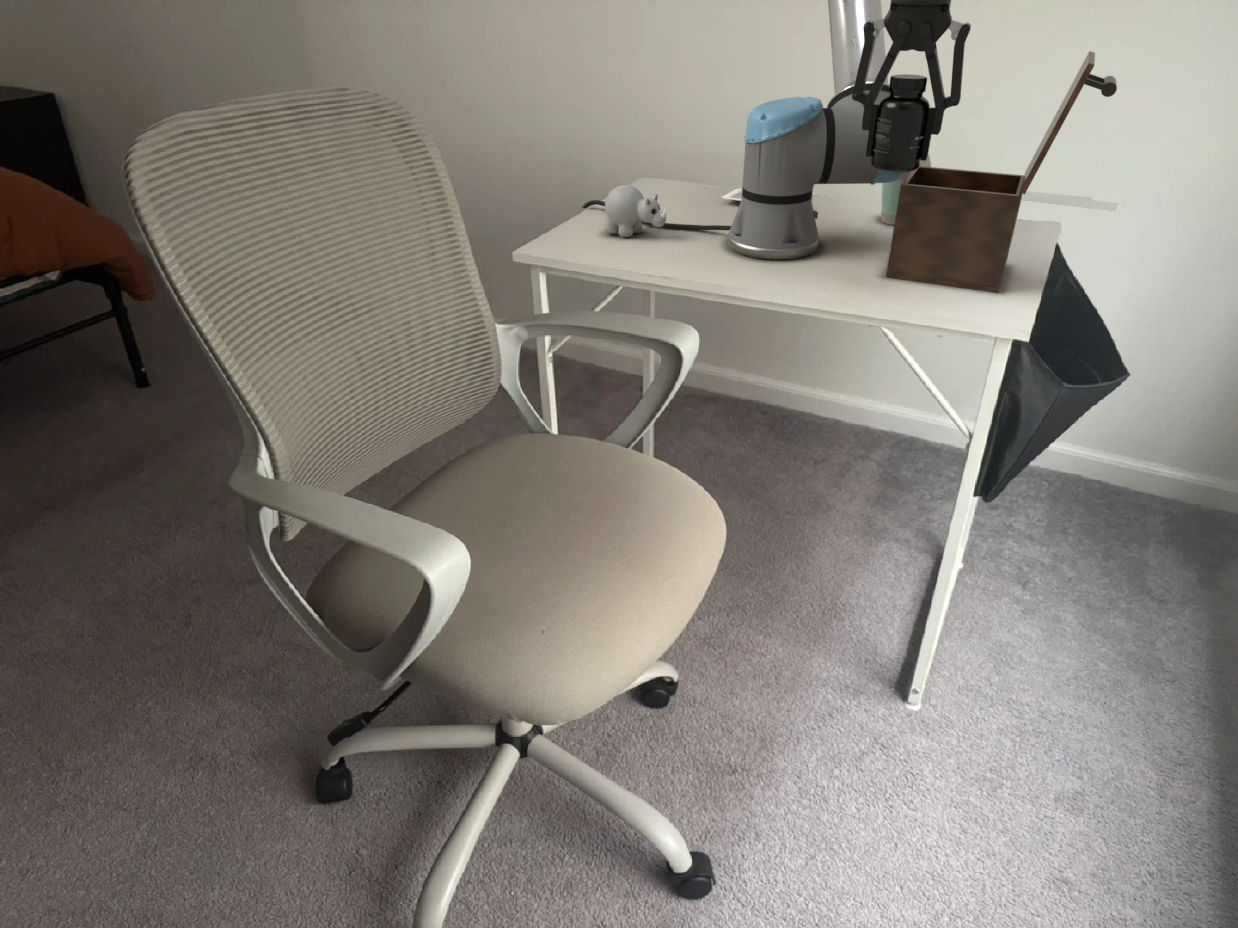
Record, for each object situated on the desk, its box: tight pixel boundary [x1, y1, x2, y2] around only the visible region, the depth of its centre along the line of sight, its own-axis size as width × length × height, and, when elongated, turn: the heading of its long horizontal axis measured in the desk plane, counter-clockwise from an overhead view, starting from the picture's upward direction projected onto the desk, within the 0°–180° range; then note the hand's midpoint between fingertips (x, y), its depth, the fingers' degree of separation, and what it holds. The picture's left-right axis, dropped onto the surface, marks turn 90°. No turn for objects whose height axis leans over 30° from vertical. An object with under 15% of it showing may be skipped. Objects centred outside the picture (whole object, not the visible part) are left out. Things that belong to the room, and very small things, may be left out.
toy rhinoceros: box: [603, 184, 668, 238], centre depth 151 cm, size 7×12×8 cm, turn 57°
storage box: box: [885, 166, 1025, 293], centre depth 132 cm, size 17×13×14 cm
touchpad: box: [720, 188, 742, 202], centre depth 169 cm, size 8×15×2 cm, turn 59°
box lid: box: [1020, 50, 1118, 195], centre depth 120 cm, size 17×13×5 cm
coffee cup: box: [880, 153, 932, 226], centre depth 156 cm, size 8×8×12 cm
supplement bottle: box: [871, 73, 931, 172], centre depth 120 cm, size 7×7×12 cm
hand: (896, 156), depth 122 cm, fingers closed on supplement bottle, 7 cm apart
